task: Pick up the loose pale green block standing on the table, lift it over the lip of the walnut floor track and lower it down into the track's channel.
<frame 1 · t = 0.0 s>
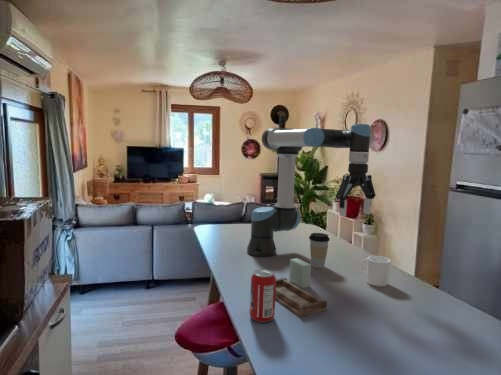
hand: (354, 215, 141), 28 cm above the table, fingers open, 13 cm apart
track: (291, 299, 124), on the table
pale green block: (299, 283, 139), on the table
soda can: (261, 318, 109), on the table
coffee cup: (317, 266, 161), on the table
mug: (374, 283, 143), on the table
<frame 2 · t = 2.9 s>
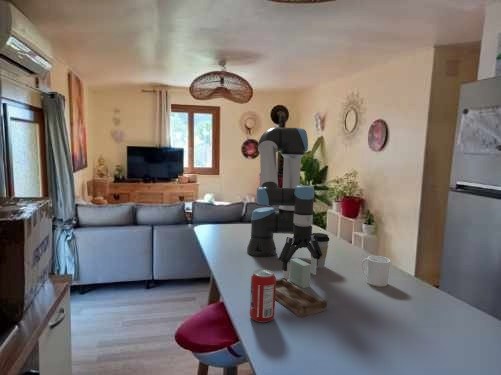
hand: (299, 276, 139), 3 cm above the table, fingers open, 13 cm apart
nothing on the table moved.
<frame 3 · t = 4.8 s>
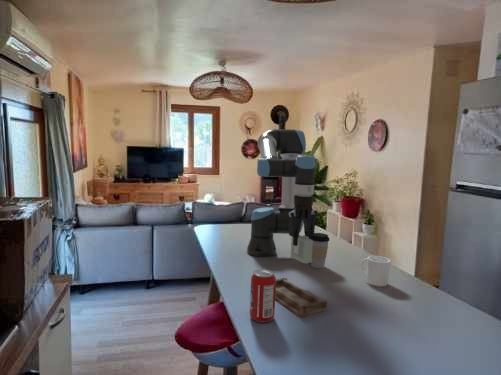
hand: (300, 252, 138), 13 cm above the table, fingers closed on pale green block, 4 cm apart
pale green block: (300, 259, 138), point 10 cm above the table, touching gripper
everything else where it was.
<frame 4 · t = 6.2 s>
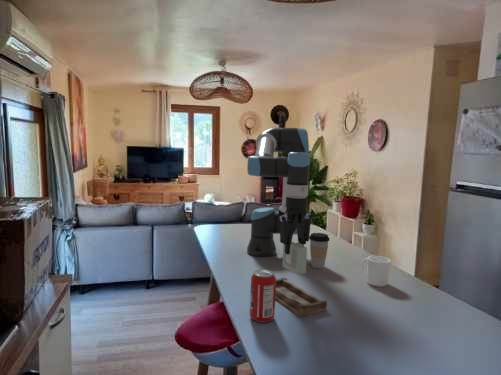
hand: (293, 261, 122), 14 cm above the table, fingers closed on pale green block, 4 cm apart
pale green block: (293, 269, 122), point 11 cm above the table, touching gripper
everything else where it was.
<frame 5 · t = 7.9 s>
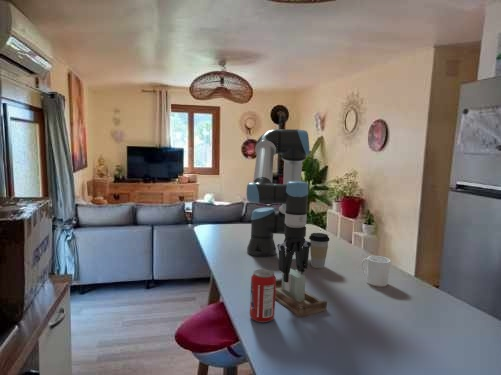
hand: (292, 289, 123), 4 cm above the table, fingers closed on pale green block, 4 cm apart
pale green block: (292, 297, 123), point 1 cm above the table, touching gripper, track
everything else where it was.
when the fingers open (4 cm above the table, at t = 8.2 s): pale green block stays where it is, resting on track.
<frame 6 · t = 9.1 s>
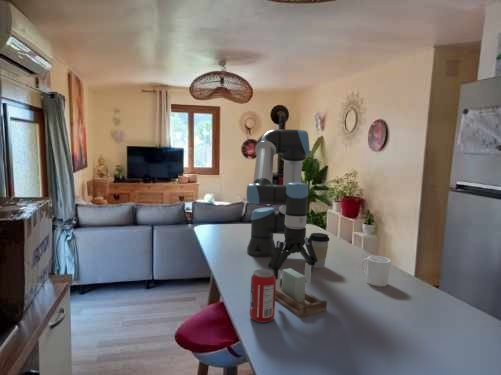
hand: (292, 284, 123), 6 cm above the table, fingers open, 13 cm apart
pale green block: (292, 297, 123), point 1 cm above the table, touching track
everything else where it was.
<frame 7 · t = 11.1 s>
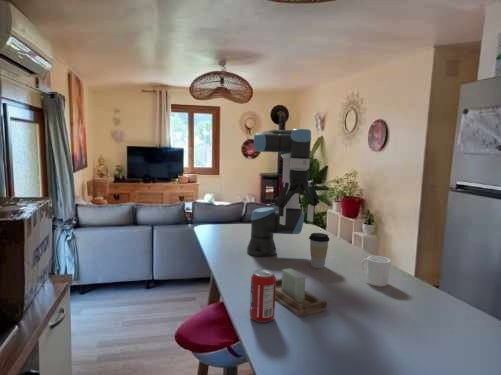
hand: (296, 222, 136), 25 cm above the table, fingers open, 13 cm apart
nothing on the table moved.
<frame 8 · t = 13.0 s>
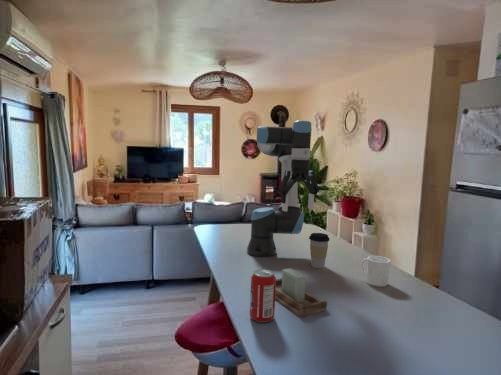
hand: (297, 210, 144), 29 cm above the table, fingers open, 13 cm apart
nothing on the table moved.
at the end: pale green block inside the target area on the track (0.4 cm from its centre), point 1.0 cm above the track's base; pale green block tilted 0°; the gripper is holding nothing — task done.
